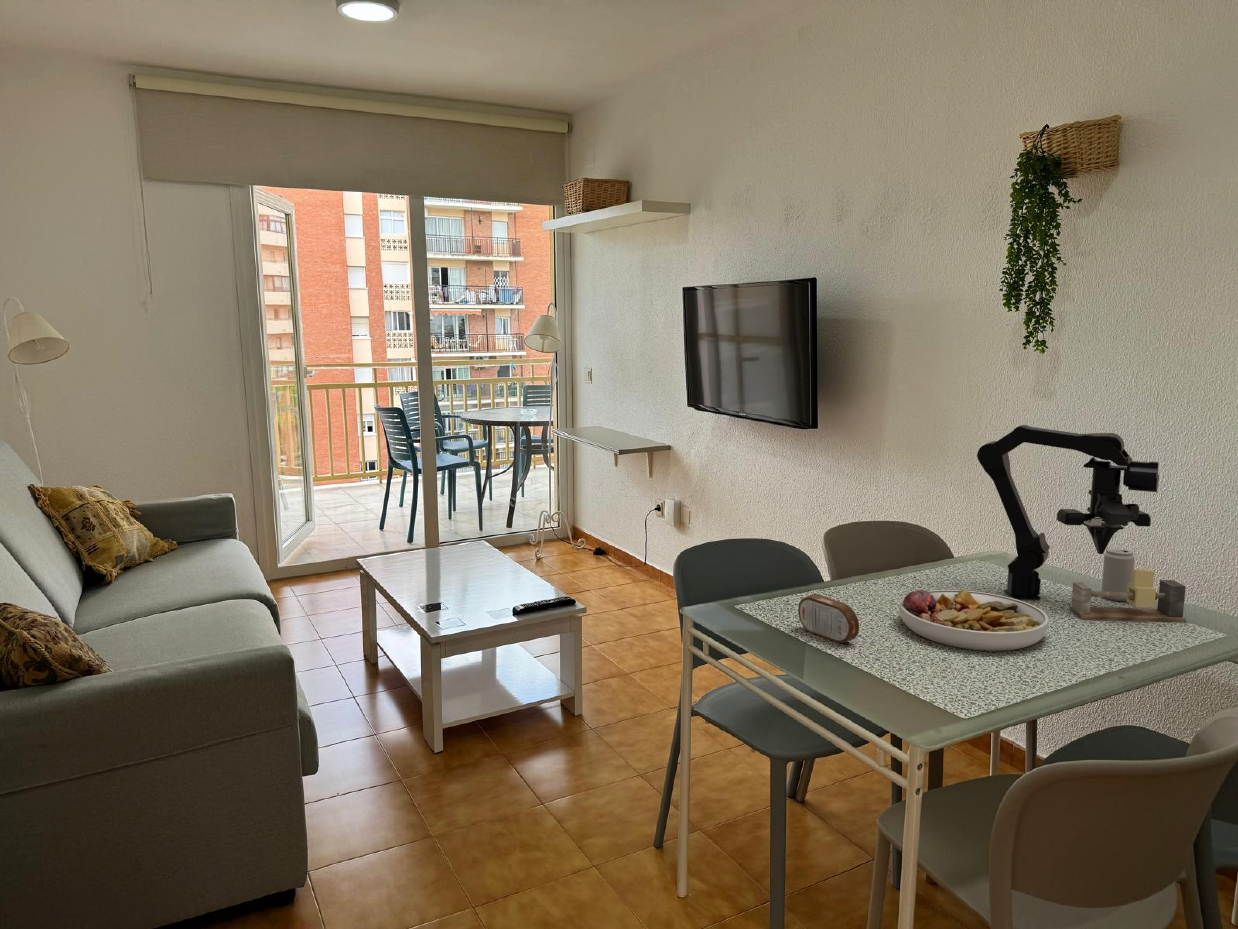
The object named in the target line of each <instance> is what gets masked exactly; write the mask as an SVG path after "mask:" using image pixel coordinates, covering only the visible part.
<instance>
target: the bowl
mask: <svg viewBox="0 0 1238 929" xmlns="http://www.w3.org/2000/svg"><path fill="white" fill-rule="evenodd" d="M898 607H899V614H900V617H901V620H902V621H903V623H904V624H905V625H906V627H908V629H910V630H911V631H912V632H914V633H915V634H916V635H919V636H920V637H921V638H925V639H927V640H929V641H933V642H935V643H938V644H940V645H945V646H949V647H954V648H959V649H964V650H965V649H966V650H972V651H973V650H974V651H984V650H985V651H986V652H987V651H988V652H994V651H995V652H1000V651H1011V650H1019V649H1023V648H1027V647H1030V646H1033V645H1034V644H1036V643H1038V642H1040V640H1041V639H1043V637H1044V636H1045V635H1046V633H1047V631H1048V628H1049V623H1050V619H1049V616H1048V614H1047V613H1046V612H1045V611H1044V610H1042V609H1041V608H1038V607H1037V606H1035V605H1033V604H1030V603H1028V602H1026V601H1023V600H1021V599H1014V598H1012V597H1010V596H1009V597H1008V596H1005V595H1001V594H995V593H989V592H983V591H974V590H965V589H932V590H926V589H925V590H924V589H917V590H916V591H910V592H909V593H907V594H906V595H905V596H904V597H903V598H901V599H900V600H899V606H898Z"/></svg>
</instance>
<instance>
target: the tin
mask: <svg viewBox="0 0 1238 929" xmlns="http://www.w3.org/2000/svg"><path fill="white" fill-rule="evenodd" d="M797 610H798V611H797V612H798V619H799V621H800V623H801V625H802V627H803V628H805V630H806V631H807V632H809V633H811V634H813V635H816V636H819V637H821V638H823V639H826V640H830V641H831V640H832V642H835V643H838V644H845V643H848V642H851V641H854V640H855V639H856V638H857V636H858V634H859V632H860V624H859V619H858V616H857V614H856V612H855V611H854V609H853V608H852V607H851V606H850V605H848V603H845V602H843V601H839V600H836V599H833V598H830V597H827V596H823V595H821V594H818V593H813V594H810V595H808V596H806V597H803V598H802V599H801V600H800V601H799V604H798V609H797Z"/></svg>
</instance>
